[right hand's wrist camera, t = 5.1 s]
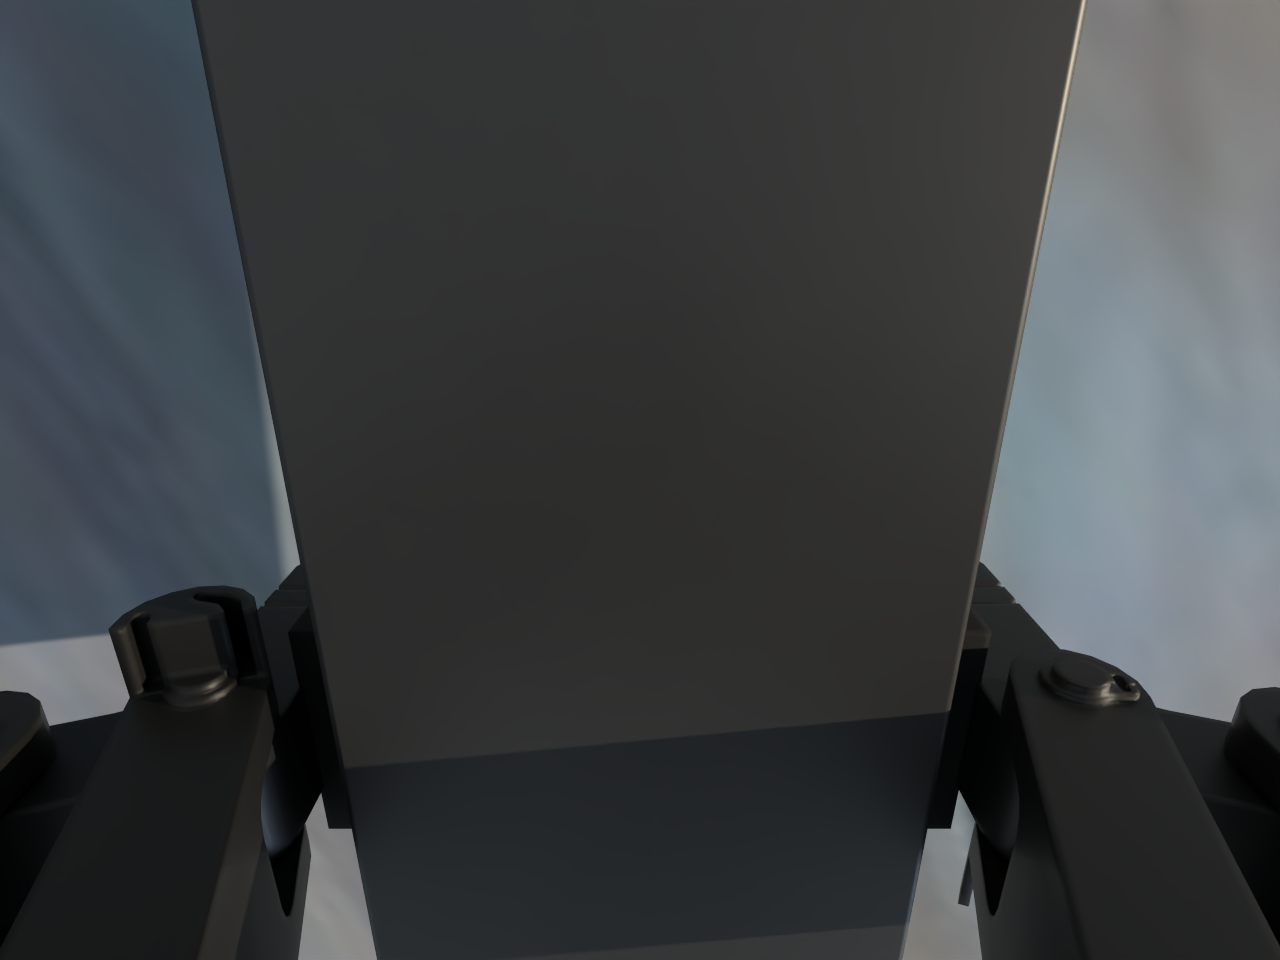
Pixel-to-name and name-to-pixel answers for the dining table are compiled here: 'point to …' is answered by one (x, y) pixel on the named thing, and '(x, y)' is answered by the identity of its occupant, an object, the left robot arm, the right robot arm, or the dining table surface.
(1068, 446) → the dining table surface
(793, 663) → the bar
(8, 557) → the dining table surface
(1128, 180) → the dining table surface
